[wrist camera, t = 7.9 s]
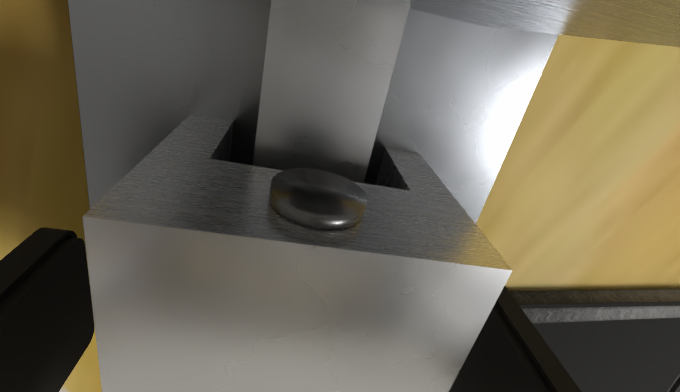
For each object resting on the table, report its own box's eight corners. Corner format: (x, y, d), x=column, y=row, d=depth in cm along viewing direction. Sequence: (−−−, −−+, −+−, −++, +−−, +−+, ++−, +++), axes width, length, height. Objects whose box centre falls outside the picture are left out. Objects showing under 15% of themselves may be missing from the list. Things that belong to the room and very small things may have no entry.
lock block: (184, 320, 12) (115, 503, 8) (192, 101, 9) (79, 195, 4) (360, 335, 13) (389, 503, 9) (423, 143, 10) (520, 254, 5)
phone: (385, 307, 13) (748, 301, 15) (379, 286, 14) (720, 283, 16) (365, 436, 17) (659, 421, 18) (361, 412, 18) (641, 399, 19)
